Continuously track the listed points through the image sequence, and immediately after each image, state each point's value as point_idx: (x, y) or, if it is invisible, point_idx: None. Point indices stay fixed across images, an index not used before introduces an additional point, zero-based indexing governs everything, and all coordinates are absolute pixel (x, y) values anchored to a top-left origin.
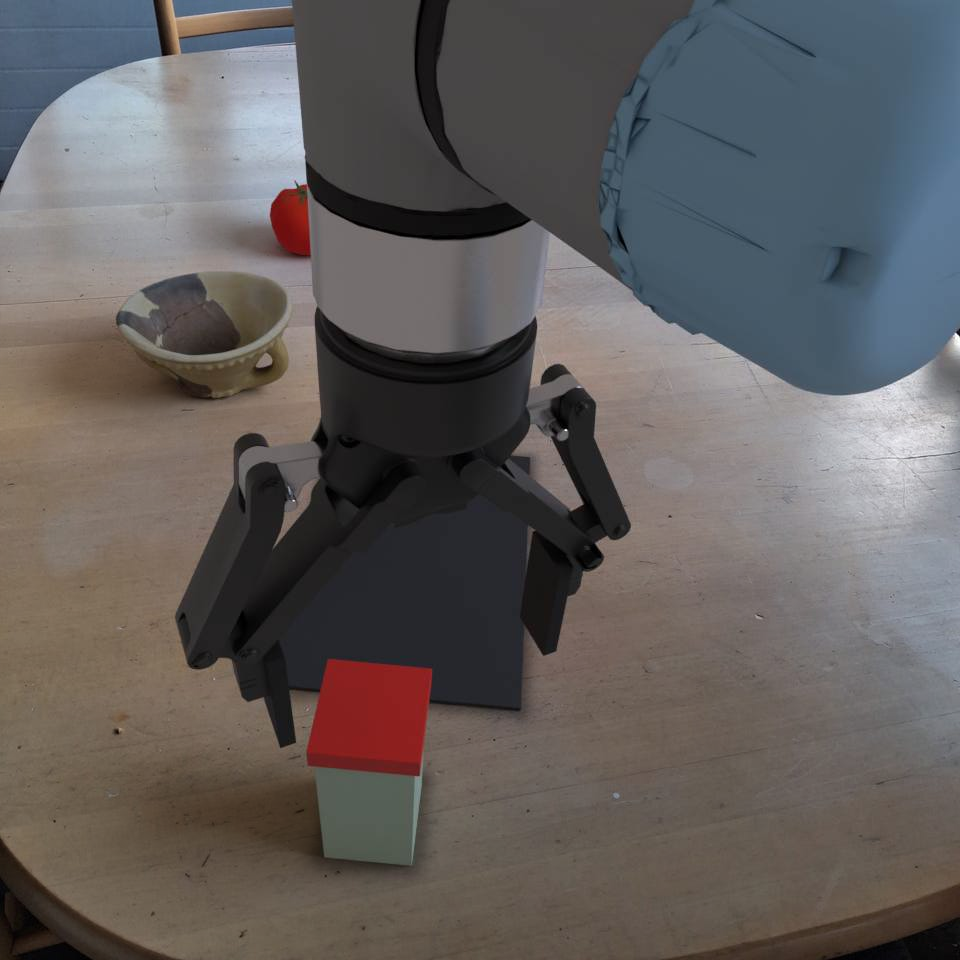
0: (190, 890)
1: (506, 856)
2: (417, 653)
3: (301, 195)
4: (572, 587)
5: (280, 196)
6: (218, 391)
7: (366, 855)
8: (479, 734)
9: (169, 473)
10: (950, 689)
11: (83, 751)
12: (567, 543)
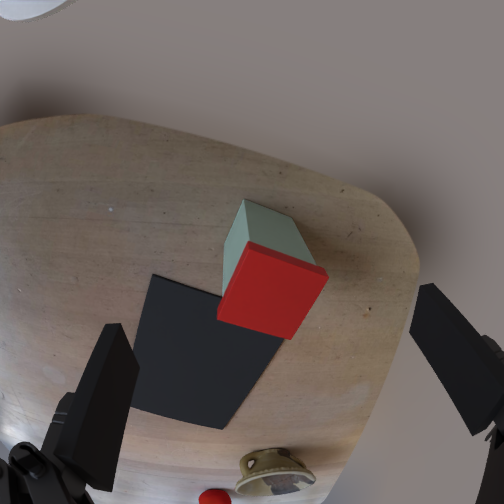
0: (360, 221)
1: (185, 189)
2: (206, 321)
3: None
4: (67, 404)
5: None
6: (274, 451)
7: (269, 211)
8: (181, 265)
9: (306, 421)
10: None
11: (385, 301)
12: (56, 501)
